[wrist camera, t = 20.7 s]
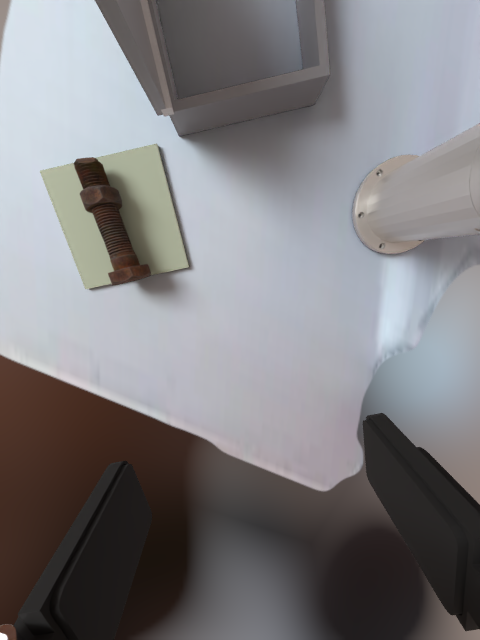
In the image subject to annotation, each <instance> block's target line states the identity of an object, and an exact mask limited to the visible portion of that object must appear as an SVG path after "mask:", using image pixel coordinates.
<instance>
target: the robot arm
mask: <svg viewBox="0 0 480 640" xmlns="http://www.w3.org/2000/svg"><path fill="white" fill-rule="evenodd" d="M376 174H377V175H376ZM352 214H353V224H354V228H355V231H356V233H357V235H358V237H359V238H360V240H361V241H362V242H363V243H364V244H365V245H366V246H367V247H368V248H370V249H372V250H373V251H376V252H379V253H385V254H397V253H402V252H406V251H408V250H411V249H413V248H415V247H417V246H418V245H420V244H421V243H422V242H424V241H425V240H427V239H438V238H449V237H459V236H470V235H480V123H479V124H477V125H475V126H474V127H472V128H470V129H468V130H466V131H464V132H463V133H461V134H459V135H457V136H455V137H454V138H452V139H450V140H448V141H446V142H444V143H443V144H441V145H439V146H437V147H435V148H434V149H432V150H430V151H428V152H426V153H424V154H423V155H421V156H417V155H400V156H397V157H394V158H391V159H389V160H387V161H385V162H383V163H382V164H380V165H379V166H377V167H376V168H375V169H373V170H372V171H371V172H370V173H369V174H368V175H367V177H366V178H365V179H364V181H363V182H362V183H361V185H360V187H359V189H358V191H357V193H356V196H355V199H354V204H353V210H352ZM358 214H359V217H358ZM379 245H380V247H379ZM366 418H367V419H366V420H365V421H363V433H364V445H365V460H366V473H367V477H368V480H369V482H370V484H371V486H372V487H373V489H374V491H375V492H376V494H377V496H378V498H379V499H380V501H381V503H382V504H383V506H384V508H385V509H386V511H387V512H388V514H389V516H390V518H391V519H392V521H393V523H394V524H395V526H396V528H397V529H398V531H399V533H400V534H401V536H402V538H403V539H404V541H405V543H406V544H407V546H408V548H409V549H410V551H411V553H412V554H413V556H414V558H415V559H416V561H417V563H418V564H419V566H420V568H421V569H422V571H423V573H424V574H425V576H426V578H427V579H428V581H429V583H430V584H431V586H432V588H433V590H434V591H435V593H436V595H437V596H438V598H439V600H440V601H441V603H442V604H443V606H444V607H445V609H446V610H447V612H448V613H449V614H450V615H456V616H457V618H458V620H459V621H460V623H461V624H462V626H463V628H464V629H465V631H469V630H476V629H480V505H479V504H478V503H477V502H476V501H475V500H474V499H473V497H472V496H471V495H470V494H468V492H466V490H465V489H464V488H463V487H462V486H461V485H460V484H459V483H458V482H457V481H456V480H455V479H454V478H453V477H452V476H451V475H450V474H449V473H448V472H447V471H446V470H445V469H444V468H443V467H441V465H440V464H439V463H438V462H437V461H436V460H435V459H434V458H433V457H432V456H431V455H430V454H429V453H428V452H427V451H426V450H424V449H422V448H421V447H415V445H414V444H413V443H412V442H411V441H410V440H409V439H408V438H407V437H406V436H405V435H404V434H403V433H402V432H401V431H400V430H399V429H398V428H397V427H396V426H395V425H394V423H393V422H392V421H391V420H390V419H389V418H388V417H387V416H386V415H385V414H383V413H380V414H374V415H369V416H367V417H366ZM151 520H152V513H151V509H150V507H149V505H148V502H147V500H146V497H145V495H144V493H143V490H142V488H141V486H140V483H139V481H138V478H137V476H136V474H135V471H134V469H133V466H132V465H131V464H128V462H127V461H122V462H116V463H112V464H110V465H109V466H108V467H107V469H106V470H105V472H104V473H103V475H102V477H101V479H100V480H99V482H98V483H97V485H96V487H95V488H94V490H93V492H92V493H91V495H90V497H89V498H88V500H87V502H86V503H85V505H84V506H83V508H82V510H81V511H80V513H79V514H78V516H77V518H76V519H75V521H74V523H73V525H72V526H71V528H70V529H69V531H68V533H67V534H66V536H65V538H64V539H63V541H62V543H61V544H60V546H59V547H58V549H57V551H56V552H55V554H54V556H53V557H52V559H51V560H50V562H49V564H48V565H47V567H46V569H45V570H44V572H43V574H42V575H41V577H40V578H39V580H38V582H37V583H36V585H35V587H34V588H33V590H32V592H31V593H30V595H29V597H28V598H27V600H26V602H25V603H24V605H23V606H22V608H21V610H20V611H19V613H18V615H19V618H18V619H17V621H16V622H15V624H14V626H12V625H11V624H6V625H5V624H4V625H1V626H0V640H114V638H115V634H116V631H117V628H118V625H119V622H120V619H121V616H122V613H123V609H124V606H125V603H126V600H127V597H128V593H129V591H130V587H131V584H132V581H133V578H134V575H135V571H136V568H137V565H138V562H139V559H140V556H141V553H142V550H143V546H144V543H145V540H146V537H147V534H148V530H149V527H150V524H151Z"/></svg>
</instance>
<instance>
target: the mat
mask: <svg viewBox="0 0 480 640" xmlns="http://www.w3.org/2000/svg"><path fill="white" fill-rule="evenodd" d="M96 159H98V161H99V162H101V164H103V167H104V170H105V173H106V176H107V178H108V181H109V184H110V186H111V187H114V188H115V189H117V190H118V191H119V194H120V196H121V199H122V207H121V208H120V209H119V211H120V214H121V217H122V219H123V222H124V225H125V226H124V227H126V230H127V231H126V232H127V233H128V235H129V236H128V237H129V238H130V239H129V240H130V242H131V245H132V247H133V250H134V252H135V254H136V255H137V258H138V261H139V263H140V265H143V264H148V265H149V268H150V271H151V275H155V274H159V273H164V272H169V271H173V270H178V269H183V268H188V267H189V263H188V259H187V256H186V252H185V248H184V244H183V240H182V236H181V232H180V229H179V225H178V221H177V217H176V213H175V209H174V205H173V201H172V198H171V194H170V190H169V186H168V182H167V178H166V174H165V171H164V167H163V163H162V159H161V155H160V151H159V147H158V145H157V144H153V145H149V146H144V147H140V148H136V149H132V150H127V151H123V152H119V153H114V154H110V155H106V156H102V157H97V158H96ZM40 173H41V176H42V178H43V181H44V183H45V186H46V188H47V191H48V194H49V196H50V199H51V201H52V204H53V206H54V209H55V212H56V214H57V217H58V219H59V222H60V225H61V227H62V230H63V232H64V235H65V237H66V240H67V243H68V245H69V248H70V250H71V253H72V256H73V258H74V261H75V263H76V266H77V268H78V271H79V274H80V276H81V279H82V281H83V284H84V286H85V289H89V288H94V287H99V286H103V285H108V284H112V283H111V281H110V278H109V276H108V273H109V272H113V271H114V270H113V267H112V264H111V262H110V257H109V256H110V255H109V254H108V252H107V251H108V250H107V249H106V247H105V246H106V245H105V242H104V240H103V239H102V238H103V237H102V236H101V234H100V231H99V229H98V226H97V223H96V221H95V218H94V215H93V213H89V212H87V211H86V210H85V207H84V205H83V203H82V200H81V197H80V192H81V191H82V190H83V187H82V185H81V183H80V181H79V178H78V175H77V172H76V170H75V167H74V163H72V164H67V165H63V166H59V167H55V168H50V169H46V170H42V171H40Z"/></svg>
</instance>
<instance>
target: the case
mask: <svg viewBox="0 0 480 640" xmlns="http://www.w3.org/2000/svg"><path fill="white" fill-rule="evenodd" d="M95 1H96V3H97V5H98V7H99V9H100V10H101V12H102V14H103V16H104V18H105V20H106V21H107V23H108V25H109V27H110V29H111V31H112V32H113V34H114V36H115V38H116V40H117V42H118V43H119V45H120V47H121V49H122V51H123V53H124V54H125V56H126V58H127V60H128V62H129V64H130V65H131V67H132V69H133V71H134V73H135V75H136V77H137V78H138V80H139V82H140V84H141V86H142V88H143V89H144V91H145V93H146V95H147V97H148V99H149V100H150V102H151V104H152V106H153V108H154V110H155V111H156V113H157V115H164V116H170V118H171V120H172V122H173V124H174V127H175V129H176V131H177V133H178V135H179V136H183V135H187V134H191V133H195V132H200V131H204V130H208V129H213V128H217V127H221V126H225V125H230V124H234V123H238V122H242V121H247V120H251V119H255V118H260V117H264V116H268V115H272V114H277V113H281V112H285V111H289V110H294V109H298V108H302V107H307V106H311V105H315V103H316V101H317V99H318V97H319V95H320V93H321V91H322V89H323V87H324V85H325V84H326V82H327V80H328V78H329V76H330V67H329V54H328V42H327V29H326V17H325V4H324V0H296V8H297V17H298V27H299V36H300V46H301V55H302V65H303V70H298V71H294V72H290V73H286V74H282V75H278V76H273V77H269V78H265V79H261V80H257V81H253V82H248V83H244V84H240V85H236V86H232V87H228V88H223V89H219V90H215V91H211V92H207V93H202V94H198V95H194V96H190V97H186V98H182V99H178V95H177V91H176V87H175V82H174V78H173V73H172V69H171V65H170V60H169V56H168V52H167V47H166V43H165V38H164V34H163V30H162V25H161V21H160V16H159V12H158V8H157V3H156V0H95Z"/></svg>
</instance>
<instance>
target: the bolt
mask: <svg viewBox="0 0 480 640" xmlns="http://www.w3.org/2000/svg"><path fill="white" fill-rule="evenodd" d="M74 167H75V170H76V172H77V175H78V178H79V181H80V183H81V185H82V187H83V190H82V191H81V192H80V197H81V200H82V203H83V205H84V207H85V210H86V211H87V212H89V213H93V215H94V218H95V221H96V223H97V226H98V229H99V231H100V234H101V236H102V237H103V238H102V239H103V240H104V242H105V245H106V246H105V247H106V249H107V250H108V251H107V252H108V254H109V255H110V256H109V257H110V262H111V264H112V267H113V270H114V271H113V272H109V273H108V276H109V278H110V281H111V283H112V285H118V284H123V283H127V282H131V281H135V280H139V279H142V278H145V277H148V276H150V275H151V271H150V268H149V265H148V264H143V265H140V263H139V261H138V258H137V255H136V254H135V252H134V250H133V247H132V245H131V242H130V240H129V239H130V238H129V237H128V236H129V235H128V233H127V232H126V231H127V230H126V227H124V226H125V225H124V222H123V219H122V217H121V214H120V211H119V209H120V208H121V207H122V199H121V196H120V194H119V191H118V190H117V189H115V188H114V187H111V186H110V184H109V181H108V178H107V176H106V173H105V170H104V167H103V164H101V162H99V161H98V159H96V158H94V157H92V158H81V159H77V160H76V161H75V162H74Z"/></svg>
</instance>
